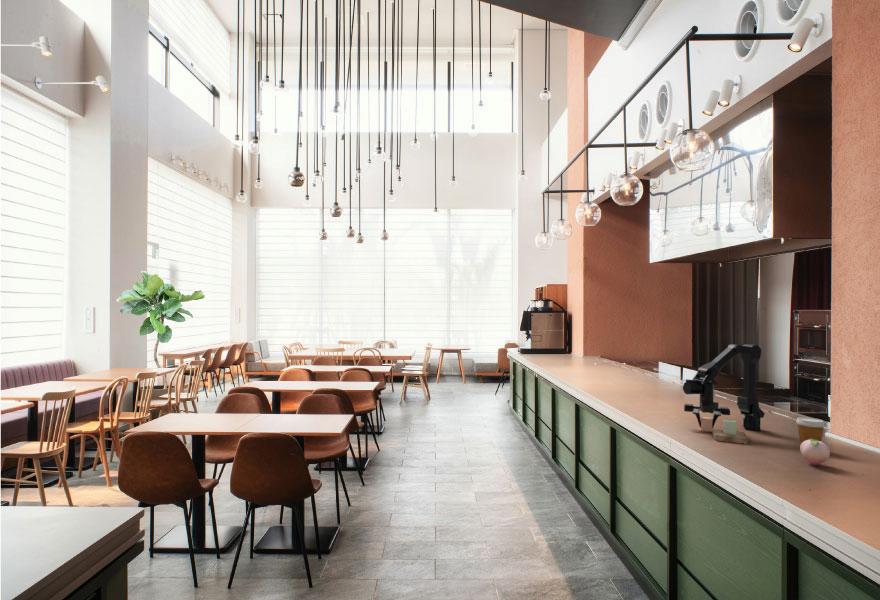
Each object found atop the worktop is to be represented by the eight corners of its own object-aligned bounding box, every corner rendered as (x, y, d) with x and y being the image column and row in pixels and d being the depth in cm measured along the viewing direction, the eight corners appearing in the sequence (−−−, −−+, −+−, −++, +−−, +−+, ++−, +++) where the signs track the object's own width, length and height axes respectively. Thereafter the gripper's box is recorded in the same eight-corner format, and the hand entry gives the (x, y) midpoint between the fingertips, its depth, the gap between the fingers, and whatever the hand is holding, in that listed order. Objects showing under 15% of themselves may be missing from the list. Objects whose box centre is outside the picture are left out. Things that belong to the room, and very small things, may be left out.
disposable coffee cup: (817, 453, 197) (817, 423, 197) (790, 447, 205) (790, 418, 205) (830, 451, 201) (830, 420, 201) (803, 445, 209) (803, 416, 210)
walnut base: (743, 437, 220) (743, 431, 220) (747, 444, 209) (748, 438, 209) (712, 434, 225) (712, 428, 225) (715, 440, 214) (715, 434, 214)
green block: (735, 432, 218) (735, 420, 218) (736, 435, 214) (736, 422, 214) (723, 431, 220) (723, 419, 220) (724, 433, 216) (724, 421, 216)
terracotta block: (711, 429, 234) (711, 417, 234) (712, 431, 230) (712, 419, 230) (700, 428, 236) (700, 416, 236) (701, 430, 232) (701, 418, 232)
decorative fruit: (833, 470, 176) (834, 441, 176) (806, 467, 179) (806, 439, 179) (823, 462, 185) (824, 435, 185) (797, 460, 188) (797, 433, 188)
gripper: (684, 395, 230) (684, 429, 230) (731, 398, 222) (731, 434, 222) (684, 391, 240) (683, 424, 240) (728, 394, 233) (728, 428, 232)
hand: (706, 427), depth 233 cm, fingers closed on terracotta block, 4 cm apart
